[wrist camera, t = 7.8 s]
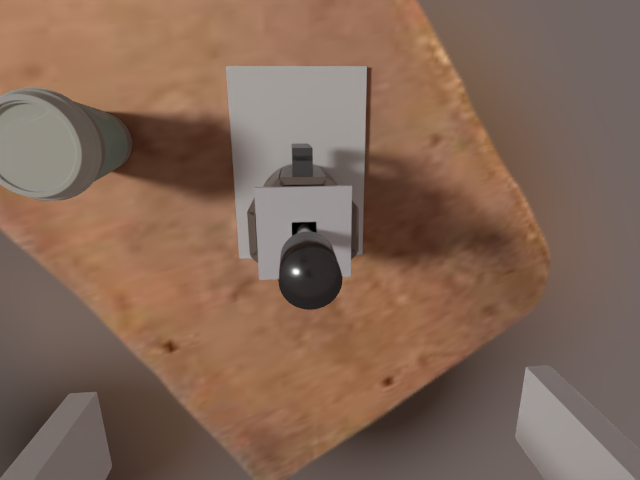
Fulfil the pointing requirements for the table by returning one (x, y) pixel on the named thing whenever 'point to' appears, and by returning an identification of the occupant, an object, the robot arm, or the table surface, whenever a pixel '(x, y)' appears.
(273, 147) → the mat
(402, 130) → the table surface
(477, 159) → the table surface
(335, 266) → the plunger
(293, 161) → the grey french press
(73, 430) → the robot arm
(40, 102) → the coffee cup
